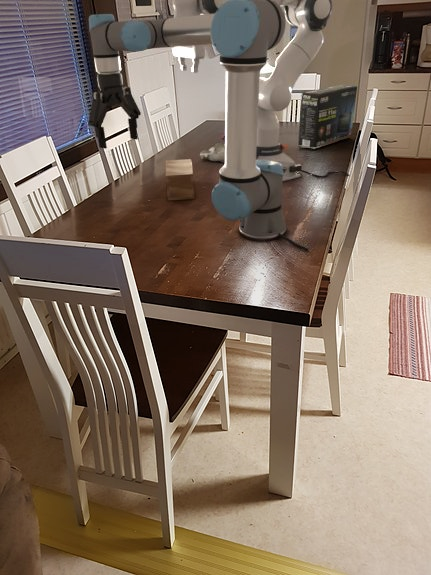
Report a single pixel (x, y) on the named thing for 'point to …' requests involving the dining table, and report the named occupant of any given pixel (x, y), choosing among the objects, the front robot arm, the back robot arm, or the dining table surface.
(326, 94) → the router box
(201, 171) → the dining table surface
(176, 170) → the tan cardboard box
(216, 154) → the fossil
